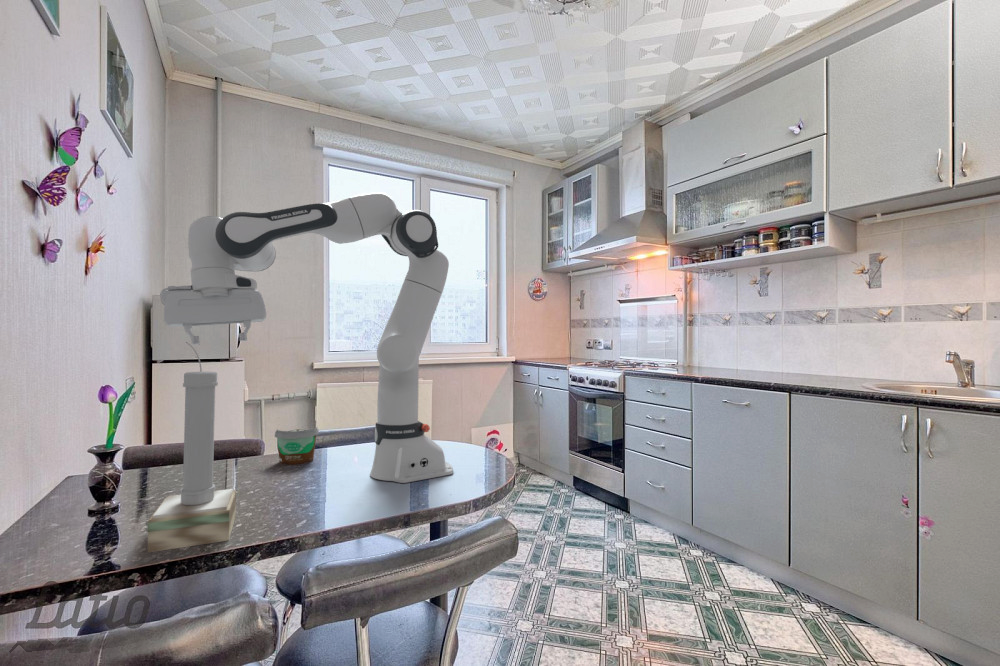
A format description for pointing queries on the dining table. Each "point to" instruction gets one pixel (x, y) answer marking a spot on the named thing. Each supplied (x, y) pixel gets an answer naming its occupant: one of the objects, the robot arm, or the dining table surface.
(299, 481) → the dining table surface
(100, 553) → the dining table surface
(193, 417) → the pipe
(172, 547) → the stand
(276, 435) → the food container
